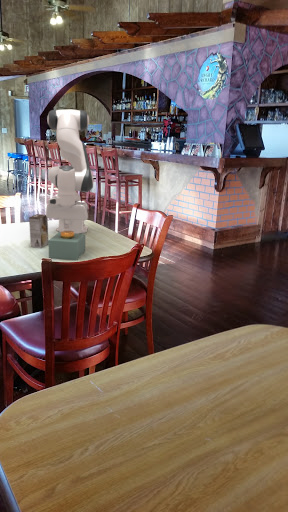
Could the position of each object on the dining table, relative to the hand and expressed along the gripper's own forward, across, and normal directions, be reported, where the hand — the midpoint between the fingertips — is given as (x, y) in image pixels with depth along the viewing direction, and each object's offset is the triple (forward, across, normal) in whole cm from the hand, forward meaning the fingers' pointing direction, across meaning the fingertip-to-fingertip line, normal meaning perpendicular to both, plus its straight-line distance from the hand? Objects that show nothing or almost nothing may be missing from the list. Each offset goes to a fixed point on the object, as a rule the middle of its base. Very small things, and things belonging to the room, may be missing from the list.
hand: (67, 228), depth 206 cm
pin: (+13, 0, 0) cm, 13 cm away
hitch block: (+14, 0, 0) cm, 14 cm away
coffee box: (+14, +19, -12) cm, 26 cm away
